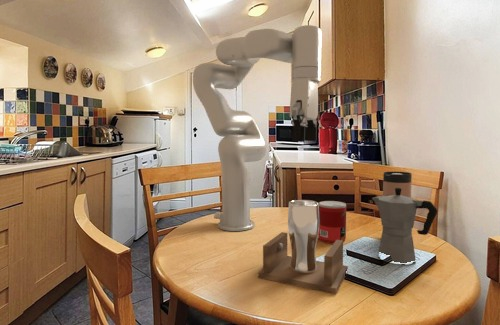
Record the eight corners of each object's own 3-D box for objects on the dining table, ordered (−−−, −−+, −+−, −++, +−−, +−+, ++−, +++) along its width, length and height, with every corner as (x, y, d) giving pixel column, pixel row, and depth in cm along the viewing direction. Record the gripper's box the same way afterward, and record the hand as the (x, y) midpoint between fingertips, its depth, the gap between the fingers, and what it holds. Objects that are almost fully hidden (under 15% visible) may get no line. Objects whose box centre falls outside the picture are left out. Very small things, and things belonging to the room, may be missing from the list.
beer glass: (312, 277, 67) (312, 207, 66) (282, 270, 71) (282, 204, 70) (323, 265, 73) (323, 201, 72) (295, 260, 77) (295, 198, 76)
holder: (258, 277, 70) (257, 245, 70) (278, 258, 81) (278, 231, 80) (336, 294, 62) (336, 258, 62) (347, 271, 73) (348, 240, 72)
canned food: (347, 244, 91) (347, 206, 90) (318, 243, 93) (318, 205, 92) (344, 236, 98) (345, 201, 98) (318, 235, 100) (318, 200, 99)
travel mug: (409, 237, 97) (411, 171, 95) (410, 245, 90) (412, 174, 88) (382, 234, 100) (383, 171, 98) (381, 241, 93) (382, 173, 91)
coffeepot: (362, 256, 82) (363, 187, 81) (379, 247, 88) (380, 183, 87) (427, 274, 71) (430, 194, 69) (441, 262, 77) (444, 189, 76)
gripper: (303, 81, 93) (302, 140, 95) (279, 72, 78) (279, 141, 80) (328, 80, 90) (327, 140, 91) (309, 69, 75) (308, 142, 76)
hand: (304, 141), depth 86 cm, fingers open, 9 cm apart
